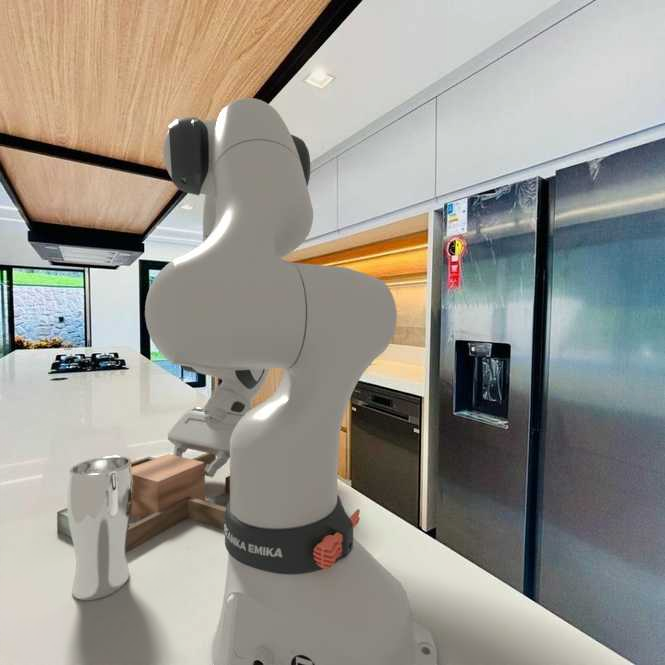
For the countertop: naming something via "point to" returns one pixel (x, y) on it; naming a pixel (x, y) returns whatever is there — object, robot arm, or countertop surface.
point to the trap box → (169, 512)
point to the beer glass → (100, 524)
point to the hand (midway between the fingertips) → (189, 470)
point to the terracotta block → (166, 483)
